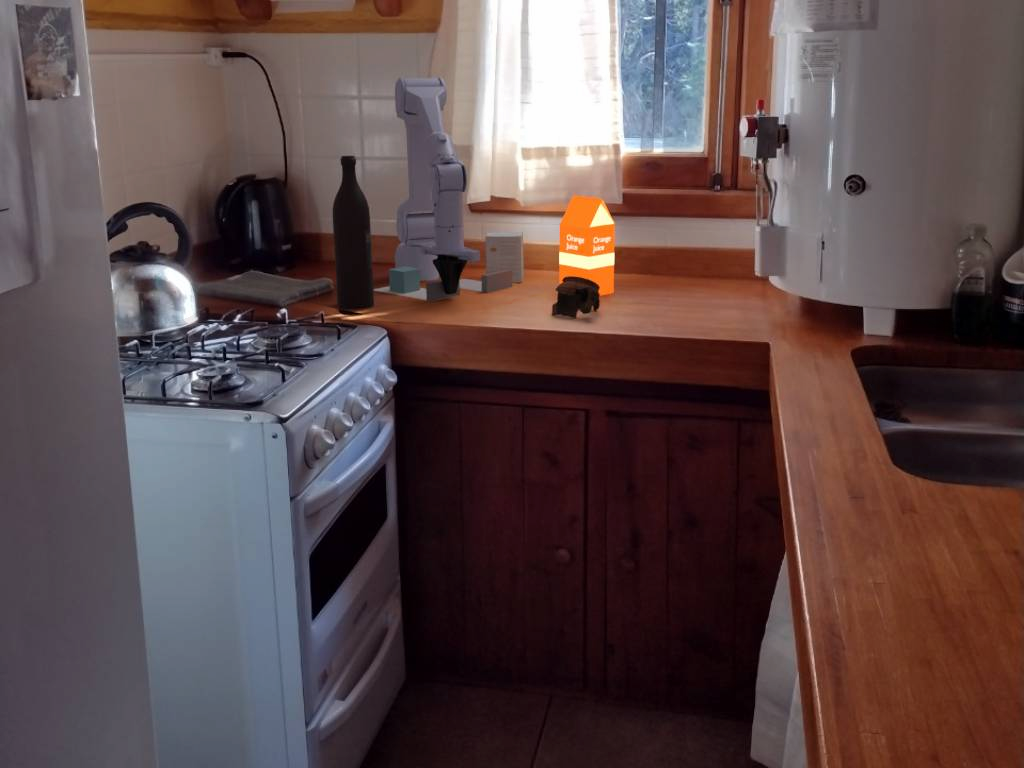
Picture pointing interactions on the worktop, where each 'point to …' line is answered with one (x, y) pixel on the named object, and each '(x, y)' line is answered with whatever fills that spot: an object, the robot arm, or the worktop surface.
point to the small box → (505, 253)
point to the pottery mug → (576, 296)
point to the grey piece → (425, 292)
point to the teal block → (404, 279)
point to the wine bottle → (352, 243)
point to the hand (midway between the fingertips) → (450, 293)
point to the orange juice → (588, 243)
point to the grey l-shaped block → (489, 282)
